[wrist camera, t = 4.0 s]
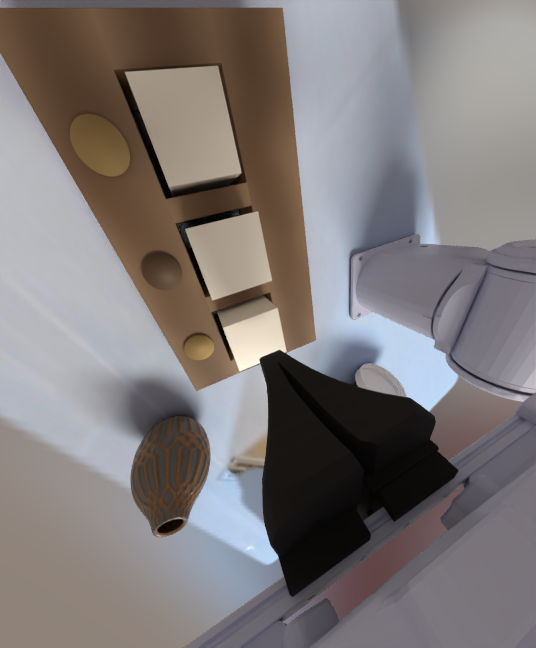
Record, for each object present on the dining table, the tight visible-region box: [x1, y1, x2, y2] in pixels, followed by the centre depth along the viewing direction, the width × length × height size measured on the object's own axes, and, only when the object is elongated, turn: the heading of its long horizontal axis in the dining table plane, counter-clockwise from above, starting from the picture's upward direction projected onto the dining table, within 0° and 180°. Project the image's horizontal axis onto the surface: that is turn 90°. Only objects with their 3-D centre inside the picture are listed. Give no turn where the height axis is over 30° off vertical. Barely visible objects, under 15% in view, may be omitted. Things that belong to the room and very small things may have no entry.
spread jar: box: [354, 363, 406, 397], centre depth 27 cm, size 12×11×12 cm
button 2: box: [217, 295, 286, 371], centre depth 16 cm, size 4×4×4 cm
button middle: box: [185, 211, 272, 301], centre depth 13 cm, size 4×4×4 cm
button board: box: [0, 8, 316, 391], centre depth 14 cm, size 12×20×4 cm, turn 13°
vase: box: [131, 416, 210, 537], centre depth 19 cm, size 7×7×9 cm
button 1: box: [125, 66, 242, 197], centre depth 11 cm, size 4×4×4 cm
